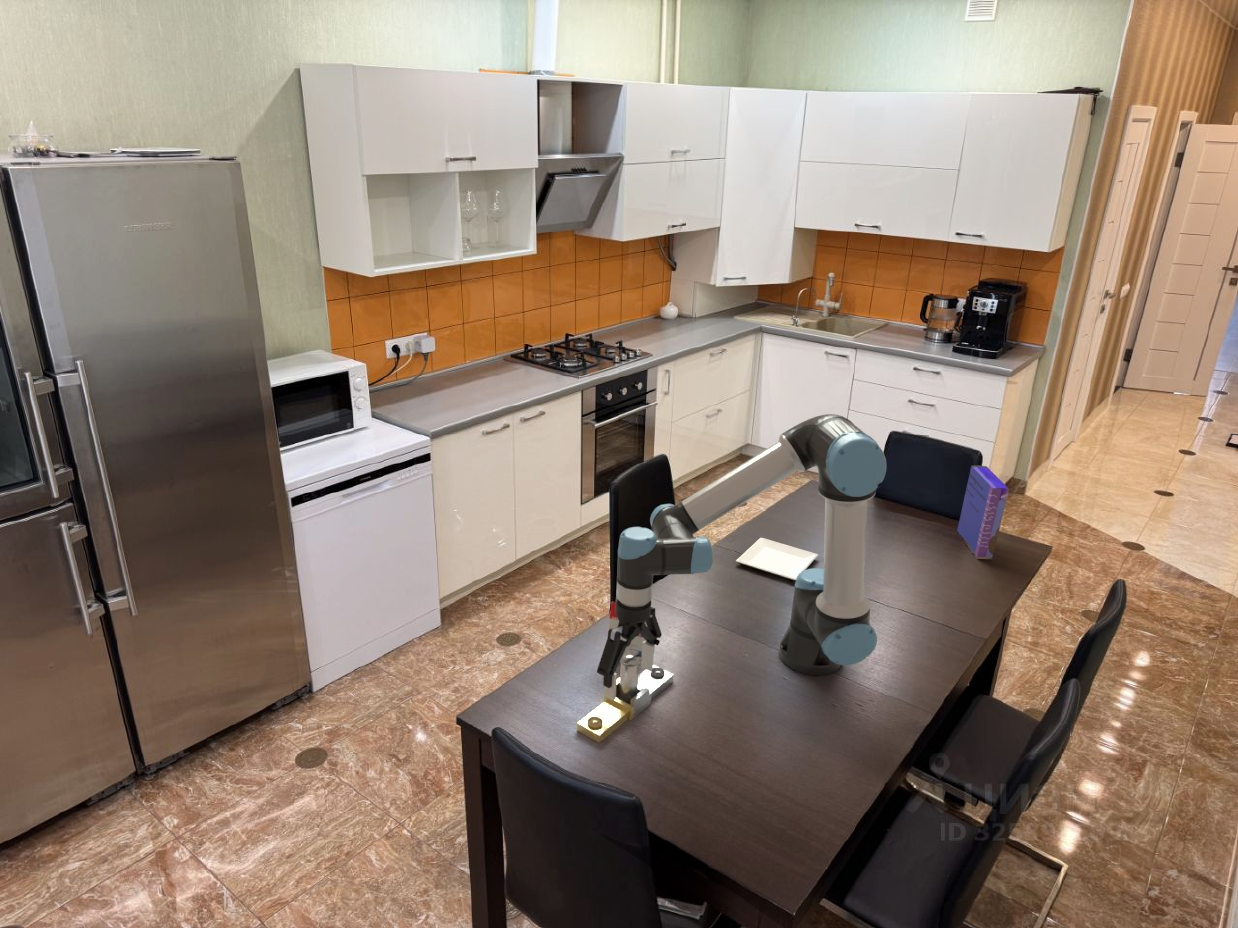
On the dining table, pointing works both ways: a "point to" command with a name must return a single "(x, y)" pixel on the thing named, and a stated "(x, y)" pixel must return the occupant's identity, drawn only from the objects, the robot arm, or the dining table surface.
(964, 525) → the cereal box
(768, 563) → the plate
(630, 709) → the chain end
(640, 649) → the ink box
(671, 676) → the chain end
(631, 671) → the pin
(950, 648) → the dining table surface
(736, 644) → the dining table surface
